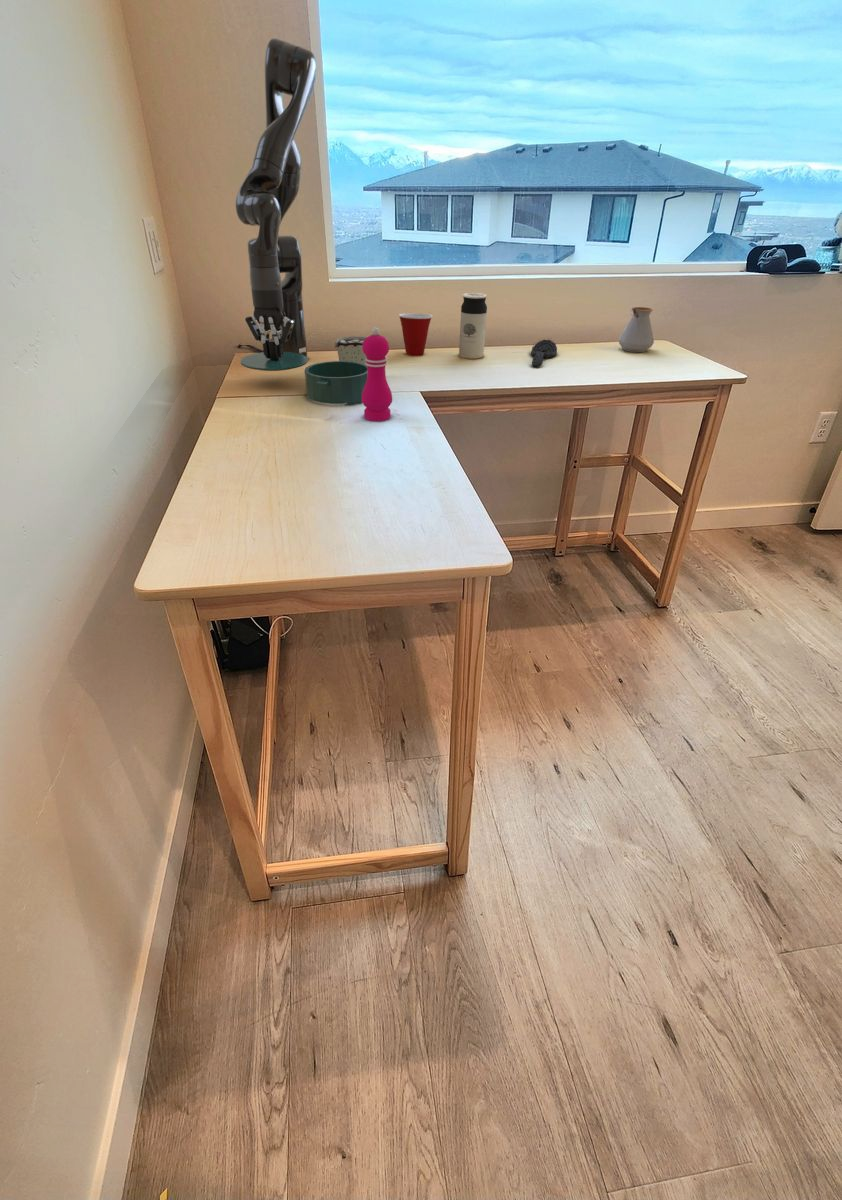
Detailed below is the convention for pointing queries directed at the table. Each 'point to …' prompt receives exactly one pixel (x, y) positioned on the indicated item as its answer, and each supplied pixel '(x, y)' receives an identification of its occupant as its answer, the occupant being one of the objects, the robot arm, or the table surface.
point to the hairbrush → (543, 351)
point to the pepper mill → (376, 378)
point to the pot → (336, 382)
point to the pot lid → (273, 360)
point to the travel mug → (473, 326)
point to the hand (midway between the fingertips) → (274, 358)
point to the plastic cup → (415, 332)
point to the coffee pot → (638, 331)
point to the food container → (351, 349)
